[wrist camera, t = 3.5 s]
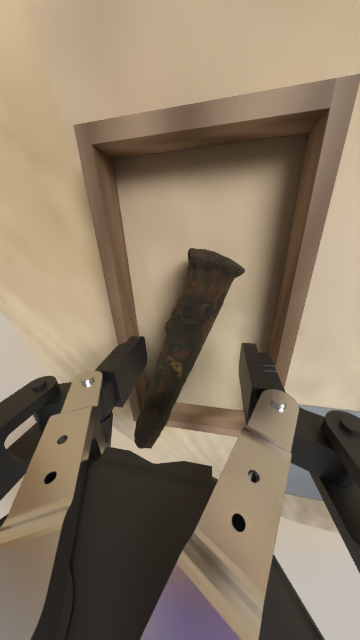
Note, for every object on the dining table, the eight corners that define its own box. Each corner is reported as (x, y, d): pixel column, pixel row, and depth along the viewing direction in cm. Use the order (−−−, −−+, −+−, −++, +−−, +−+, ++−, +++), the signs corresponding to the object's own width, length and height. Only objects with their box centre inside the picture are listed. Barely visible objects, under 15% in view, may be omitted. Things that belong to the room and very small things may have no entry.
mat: (423, 419, 18) (427, 423, 17) (362, 505, 24) (364, 509, 24) (284, 403, 20) (285, 406, 19) (263, 485, 26) (263, 489, 26)
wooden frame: (332, 107, 11) (361, 73, 8) (265, 420, 21) (270, 442, 19) (97, 143, 14) (73, 125, 11) (141, 403, 24) (133, 420, 22)
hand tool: (195, 244, 15) (188, 239, 11) (242, 264, 15) (253, 267, 10) (129, 408, 22) (108, 446, 17) (161, 423, 21) (147, 465, 17)
